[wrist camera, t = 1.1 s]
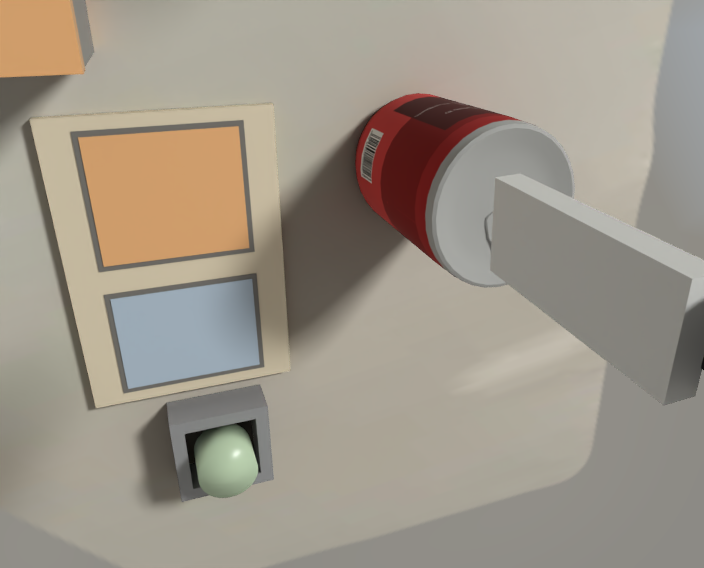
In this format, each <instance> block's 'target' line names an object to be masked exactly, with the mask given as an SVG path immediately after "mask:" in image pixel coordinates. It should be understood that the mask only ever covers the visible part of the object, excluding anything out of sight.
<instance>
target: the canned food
mask: <svg viewBox="0 0 704 568" xmlns="http://www.w3.org/2000/svg"><path fill="white" fill-rule="evenodd" d="M355 165H356V175H357V180H358V183H359V187H360V190H361V192H362V194H363V196H364V198H365V200H366V202H367V203H368V204H369V206H370V207H371V208H372V209H373V210H374V211H375V212H376V213H377V214H378V215H380V216H381V217H382V218H383V219H384V220H386V221H387V222H388V223H389V224H390V225H392V226H393V227H394V228H395V229H396V230H398V231H399V232H400V233H401V234H402V235H404V236H405V237H406V238H407V239H408V240H410V241H411V242H412V243H413V244H414V245H416V246H417V247H418V248H419V249H420V250H422V251H423V252H424V253H425V254H426V255H428V256H429V257H430V258H431V259H432V260H434V261H435V262H436V263H437V264H439V265H440V266H441V267H442V268H444V269H445V270H447V271H448V272H449V273H450V274H452V275H453V276H454V277H456V278H459V279H460V280H462V281H464V282H466V283H468V284H471V285H474V286H480V287H499V286H503V285H507V283H506V282H504V281H503V280H502V279H501V278H499V277H498V276H497V275H496V274H494V273H493V272H492V271H490V261H491V243H492V226H493V208H494V191H495V177H501V176H507V175H513V174H520V173H521V174H523V175H525V176H527V177H529V178H531V179H533V180H535V181H537V182H540V183H542V184H544V185H546V186H548V187H550V188H552V189H554V190H557V191H559V192H561V193H563V194H565V195H567V196H569V197H571V198H574V190H575V186H574V176H573V170H572V167H571V164H570V160H569V158H568V156H567V154H566V152H565V150H564V149H563V147H562V145H561V144H560V143H559V142H558V141H557V140H556V139H555V138H554V137H553V136H552V135H551V134H549V133H548V132H546V131H545V130H543V129H541V128H539V127H537V126H536V125H533V124H530V123H527V122H524V121H521V120H518V119H515V118H512V117H509V116H506V115H502V114H498V113H495V112H491V111H488V110H484V109H480V108H477V107H473V106H470V105H466V104H462V103H459V102H455V101H452V100H448V99H444V98H441V97H437V96H434V95H430V94H419V93H418V94H411V95H406V96H403V97H400V98H398V99H395V100H393V101H391V102H390V103H388V104H387V105H385V106H383V107H382V108H381V109H379V110H378V111H377V112H376V113H375V114H374V115H373V116H372V118H371V119H370V120H369V122H368V123H367V125H366V126H365V128H364V130H363V132H362V134H361V136H360V139H359V142H358V146H357V150H356V160H355Z"/></svg>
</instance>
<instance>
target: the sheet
mask: <svg viewBox="0 0 704 568" xmlns="http://www.w3.org/2000/svg"><path fill="white" fill-rule="evenodd" d="M29 120H30V124H31V129H32V133H33V137H34V142H35V146H36V150H37V155H38V159H39V163H40V168H41V172H42V176H43V181H44V185H45V189H46V194H47V198H48V202H49V207H50V211H51V215H52V220H53V224H54V228H55V233H56V237H57V241H58V246H59V250H60V254H61V259H62V263H63V268H64V272H65V276H66V281H67V285H68V289H69V294H70V298H71V302H72V307H73V311H74V315H75V320H76V324H77V328H78V333H79V337H80V341H81V346H82V350H83V354H84V359H85V363H86V367H87V372H88V376H89V380H90V385H91V389H92V393H93V398H94V402H95V406H96V408H100V407H105V406H110V405H116V404H121V403H126V402H131V401H136V400H141V399H147V398H152V397H157V396H162V395H167V394H173V393H178V392H183V391H188V390H193V389H199V388H204V387H209V386H214V385H219V384H225V383H230V382H235V381H240V380H245V379H251V378H256V377H261V376H266V375H271V374H277V373H282V372H287V371H291V370H290V355H289V339H288V323H287V307H286V292H285V276H284V260H283V244H282V229H281V213H280V197H279V182H278V166H277V150H276V134H275V119H274V104H272V103H263V104H247V105H230V106H214V107H197V108H181V109H164V110H148V111H131V112H115V113H98V114H82V115H65V116H49V117H32V118H30V119H29Z"/></svg>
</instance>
